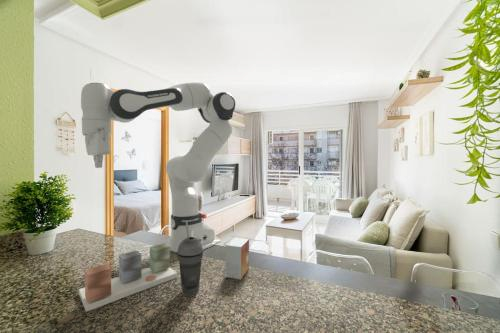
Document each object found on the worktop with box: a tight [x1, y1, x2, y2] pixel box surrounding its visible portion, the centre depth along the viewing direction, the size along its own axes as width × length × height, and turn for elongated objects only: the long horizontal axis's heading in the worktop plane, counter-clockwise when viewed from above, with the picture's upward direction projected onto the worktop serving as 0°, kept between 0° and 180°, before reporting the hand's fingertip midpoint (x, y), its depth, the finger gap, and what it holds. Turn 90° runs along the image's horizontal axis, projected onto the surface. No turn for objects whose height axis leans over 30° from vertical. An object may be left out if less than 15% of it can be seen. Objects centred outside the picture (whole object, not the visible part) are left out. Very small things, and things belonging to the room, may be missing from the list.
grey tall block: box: [118, 250, 142, 283], centre depth 69 cm, size 5×4×7 cm
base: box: [78, 266, 178, 313], centre depth 69 cm, size 24×10×2 cm, turn 134°
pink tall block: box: [84, 263, 112, 303], centre depth 60 cm, size 5×4×7 cm
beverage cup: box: [176, 222, 204, 297], centre depth 65 cm, size 7×7×20 cm
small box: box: [224, 237, 250, 280], centre depth 77 cm, size 8×6×10 cm
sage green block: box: [149, 243, 171, 272], centre depth 76 cm, size 5×4×7 cm
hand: (98, 167), depth 83 cm, fingers closed
